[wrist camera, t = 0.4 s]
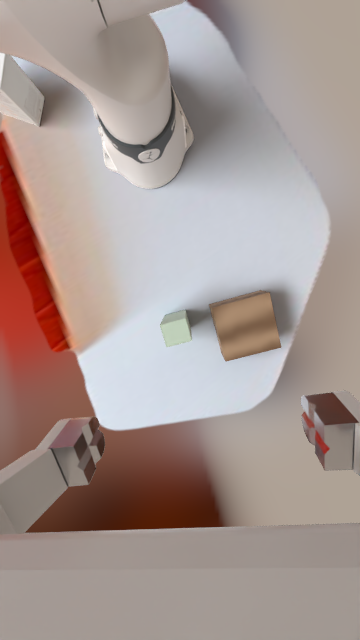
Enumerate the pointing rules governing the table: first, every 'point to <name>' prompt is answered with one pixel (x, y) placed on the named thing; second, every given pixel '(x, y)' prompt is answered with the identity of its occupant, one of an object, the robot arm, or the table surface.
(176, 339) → the sage block
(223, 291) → the table surface
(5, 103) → the small box
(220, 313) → the walnut block
